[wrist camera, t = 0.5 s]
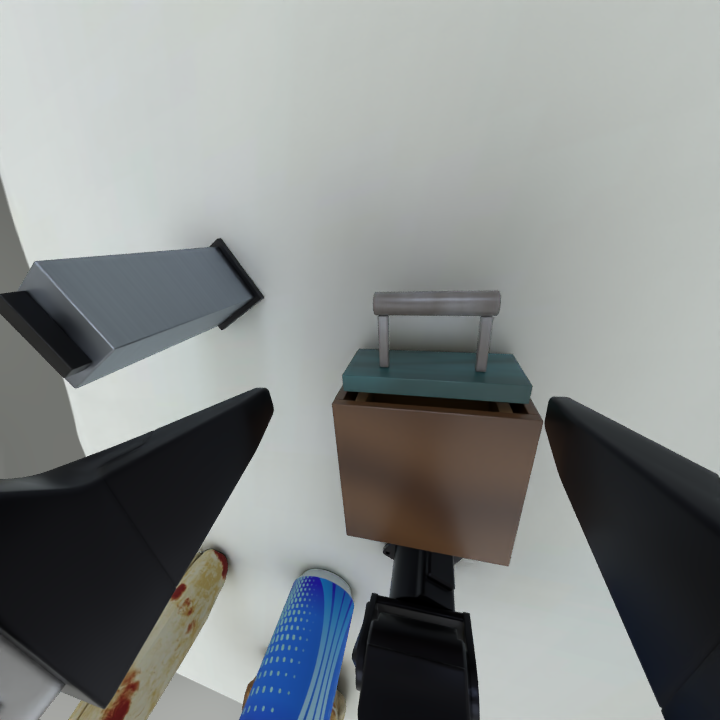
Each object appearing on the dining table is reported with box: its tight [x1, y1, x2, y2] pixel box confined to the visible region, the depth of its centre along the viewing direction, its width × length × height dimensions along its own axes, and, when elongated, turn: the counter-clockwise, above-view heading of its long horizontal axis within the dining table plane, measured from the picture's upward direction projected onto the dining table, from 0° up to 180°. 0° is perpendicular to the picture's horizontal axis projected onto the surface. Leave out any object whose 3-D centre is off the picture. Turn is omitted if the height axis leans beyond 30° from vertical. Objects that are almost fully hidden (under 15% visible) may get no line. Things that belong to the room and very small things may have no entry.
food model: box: [68, 549, 228, 720], centre depth 34 cm, size 10×7×20 cm
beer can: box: [239, 569, 354, 720], centre depth 32 cm, size 8×8×16 cm
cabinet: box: [332, 386, 543, 566], centre depth 22 cm, size 13×12×6 cm
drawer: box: [342, 290, 532, 413], centre depth 21 cm, size 17×11×5 cm, turn 3°
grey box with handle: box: [0, 238, 264, 388], centre depth 18 cm, size 5×5×13 cm
